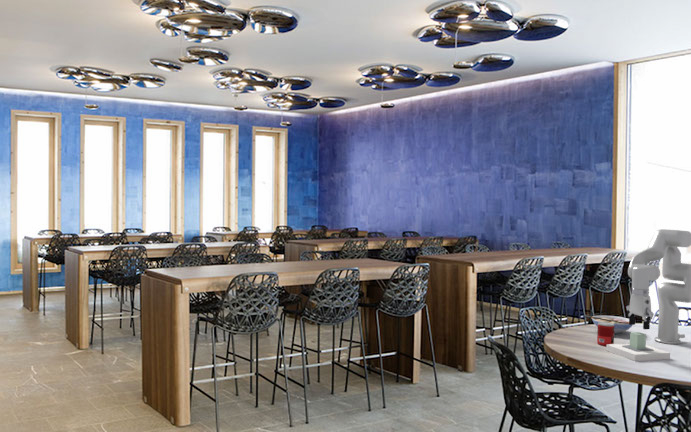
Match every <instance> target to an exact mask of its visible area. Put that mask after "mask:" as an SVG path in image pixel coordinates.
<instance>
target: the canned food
mask: <svg viewBox="0 0 691 432" xmlns="http://www.w3.org/2000/svg"><path fill="white" fill-rule="evenodd" d="M614 341H615V334H614V324H613V323H608V322H598V327H597V336H596V344H597V345H599V346H602V347H603V346H604V347H606V344H615V342H614Z"/></svg>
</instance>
